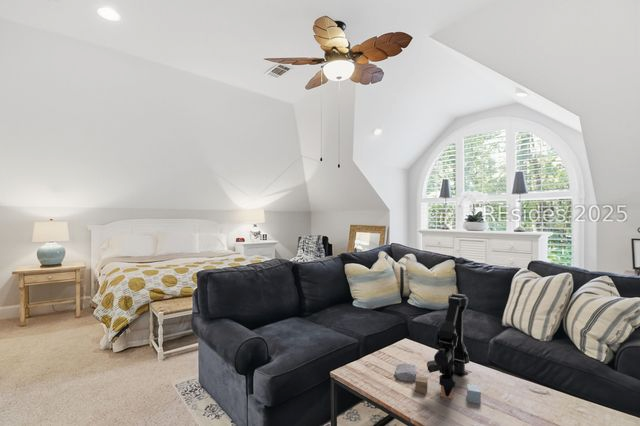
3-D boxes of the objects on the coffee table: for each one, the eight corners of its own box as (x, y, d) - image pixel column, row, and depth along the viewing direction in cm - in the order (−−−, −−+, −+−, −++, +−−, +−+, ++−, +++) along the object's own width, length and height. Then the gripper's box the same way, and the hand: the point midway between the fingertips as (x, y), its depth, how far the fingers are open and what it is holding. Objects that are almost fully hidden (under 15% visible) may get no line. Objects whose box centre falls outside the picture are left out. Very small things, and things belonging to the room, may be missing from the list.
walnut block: (416, 385, 153) (416, 375, 153) (427, 388, 151) (427, 377, 151) (415, 391, 148) (415, 380, 148) (426, 393, 147) (427, 382, 147)
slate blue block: (466, 395, 145) (466, 384, 145) (479, 397, 144) (479, 386, 143) (467, 401, 141) (467, 390, 141) (480, 404, 139) (480, 392, 139)
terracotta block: (440, 390, 149) (441, 379, 149) (452, 392, 147) (452, 381, 147) (440, 396, 144) (440, 385, 144) (453, 398, 143) (453, 387, 143)
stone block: (397, 384, 158) (418, 381, 156) (395, 374, 159) (416, 371, 157) (396, 372, 170) (416, 370, 168) (394, 363, 170) (414, 361, 168)
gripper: (428, 346, 157) (428, 378, 158) (427, 363, 140) (426, 399, 140) (453, 349, 153) (453, 382, 154) (455, 367, 136) (455, 405, 136)
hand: (446, 392), depth 146 cm, fingers open, 7 cm apart
